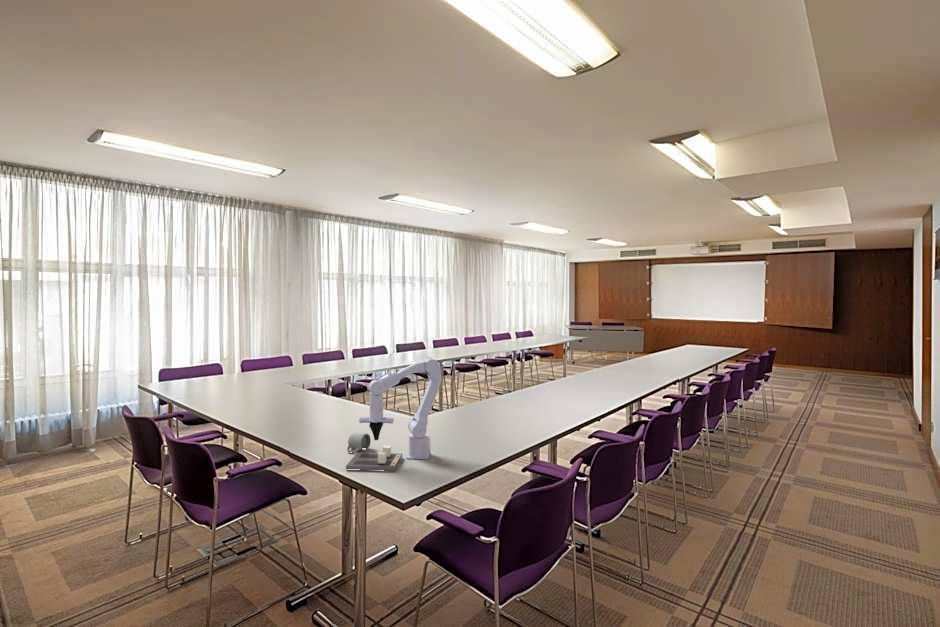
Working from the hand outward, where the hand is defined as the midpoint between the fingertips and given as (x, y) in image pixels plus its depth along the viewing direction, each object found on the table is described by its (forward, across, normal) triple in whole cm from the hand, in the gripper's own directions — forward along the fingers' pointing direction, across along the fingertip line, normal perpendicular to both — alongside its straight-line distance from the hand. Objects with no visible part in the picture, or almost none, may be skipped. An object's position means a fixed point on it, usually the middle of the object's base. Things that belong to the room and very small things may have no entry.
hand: (376, 439), depth 200 cm
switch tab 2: (+7, +4, 0) cm, 8 cm away
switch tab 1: (+7, +4, -8) cm, 12 cm away
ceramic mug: (+10, -12, +13) cm, 20 cm away
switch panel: (+9, 0, -4) cm, 10 cm away
